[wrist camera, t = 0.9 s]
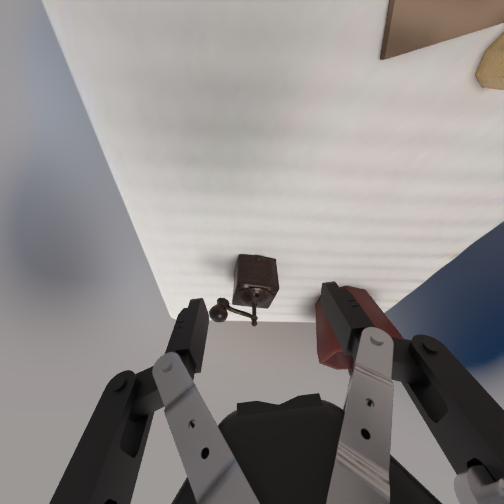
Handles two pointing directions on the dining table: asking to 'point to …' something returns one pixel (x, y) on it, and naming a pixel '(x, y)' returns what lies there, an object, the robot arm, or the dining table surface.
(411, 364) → the robot arm
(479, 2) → the post stand
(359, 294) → the bucket
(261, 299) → the manual coffee grinder
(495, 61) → the gold octagonal ring
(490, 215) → the dining table surface
